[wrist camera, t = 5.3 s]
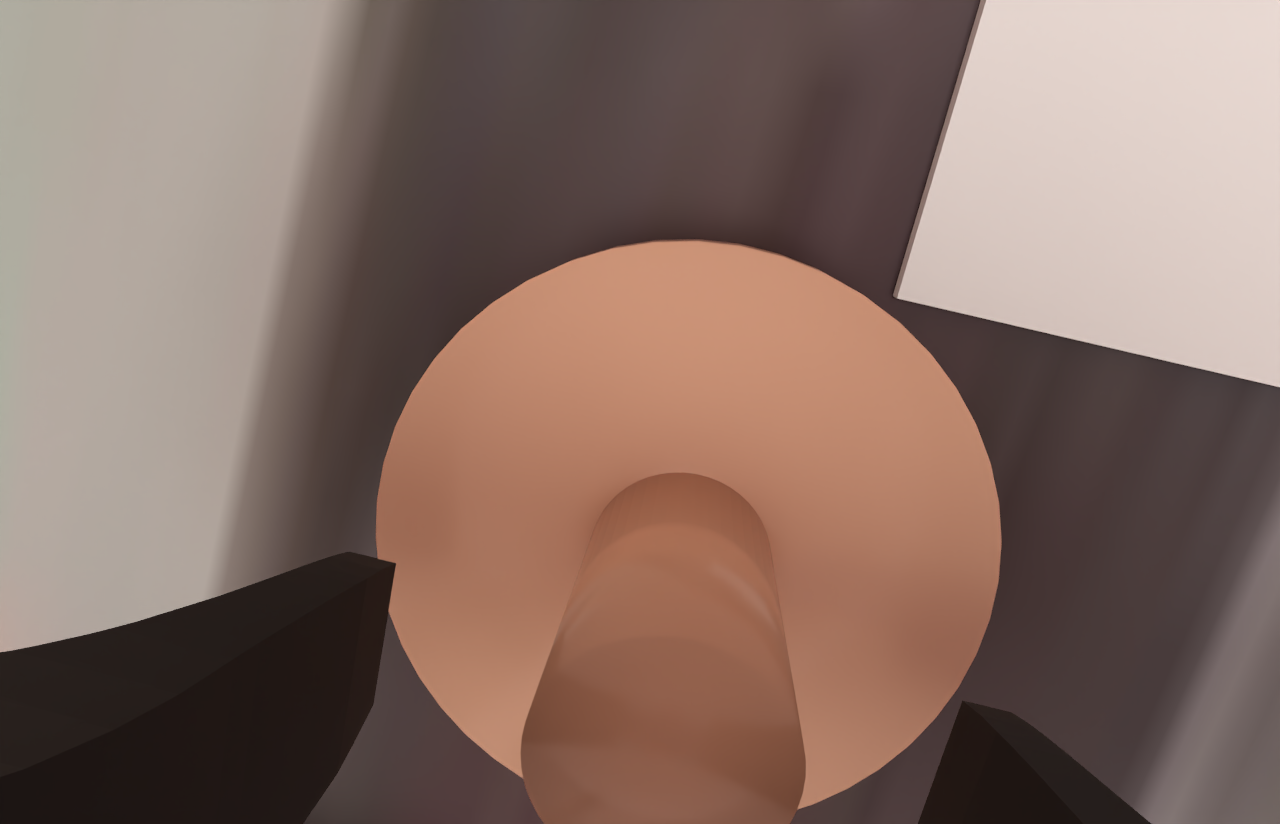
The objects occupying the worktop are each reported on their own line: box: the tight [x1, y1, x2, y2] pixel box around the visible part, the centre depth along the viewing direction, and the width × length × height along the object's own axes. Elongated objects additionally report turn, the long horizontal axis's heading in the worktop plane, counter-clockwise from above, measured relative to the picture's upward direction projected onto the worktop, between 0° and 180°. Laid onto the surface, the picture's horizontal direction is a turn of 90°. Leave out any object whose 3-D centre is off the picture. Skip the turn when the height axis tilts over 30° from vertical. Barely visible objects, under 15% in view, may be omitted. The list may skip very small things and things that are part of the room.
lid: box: [376, 239, 1002, 824], centre depth 11 cm, size 10×10×6 cm
